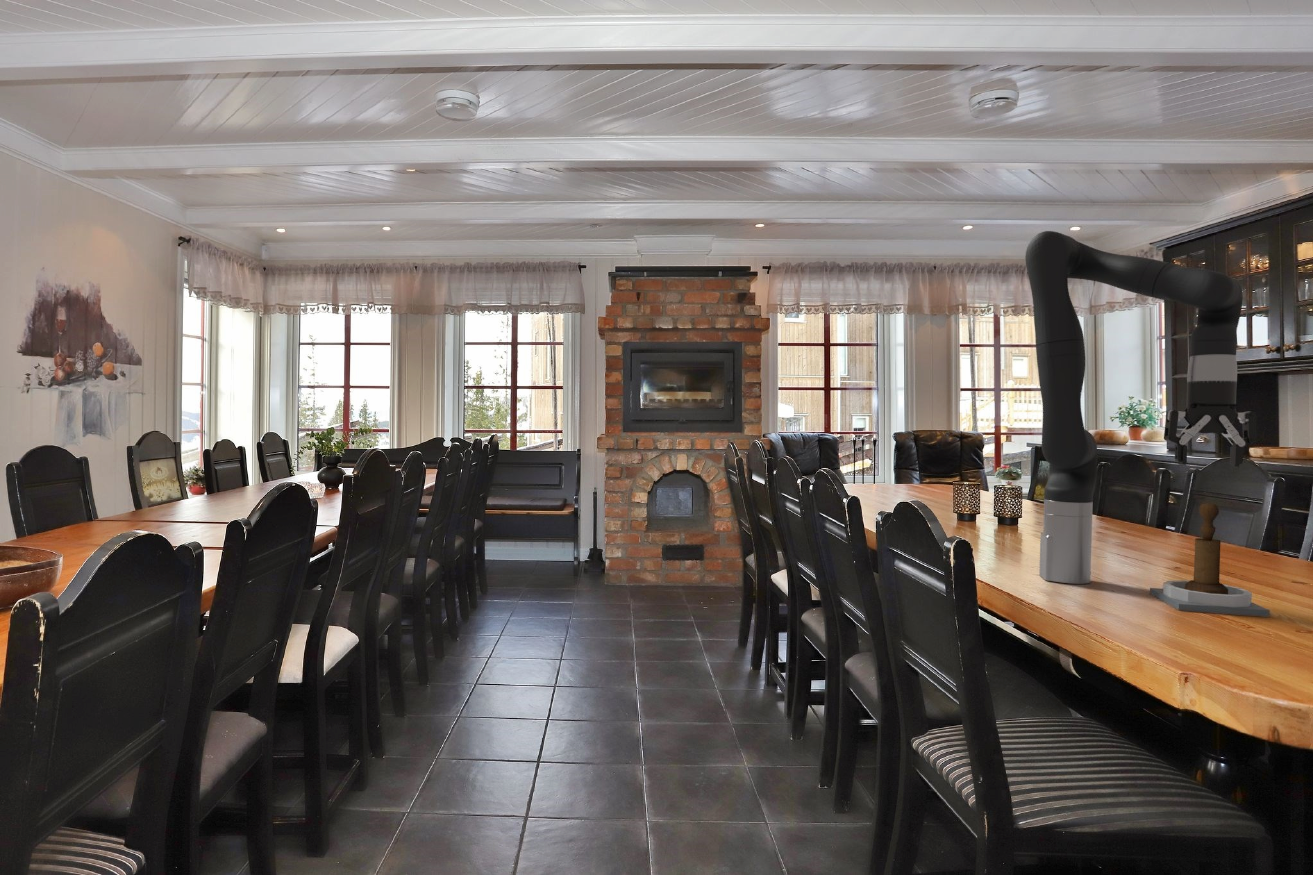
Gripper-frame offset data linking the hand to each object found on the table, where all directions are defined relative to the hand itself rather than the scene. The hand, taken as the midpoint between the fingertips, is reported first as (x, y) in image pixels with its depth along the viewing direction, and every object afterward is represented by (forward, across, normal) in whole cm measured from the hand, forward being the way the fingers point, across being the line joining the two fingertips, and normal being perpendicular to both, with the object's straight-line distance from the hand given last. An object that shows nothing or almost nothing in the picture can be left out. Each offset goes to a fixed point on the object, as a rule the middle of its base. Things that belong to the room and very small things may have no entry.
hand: (1208, 465), depth 141 cm
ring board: (+26, 0, -1) cm, 26 cm away
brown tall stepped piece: (+25, 0, -1) cm, 25 cm away
